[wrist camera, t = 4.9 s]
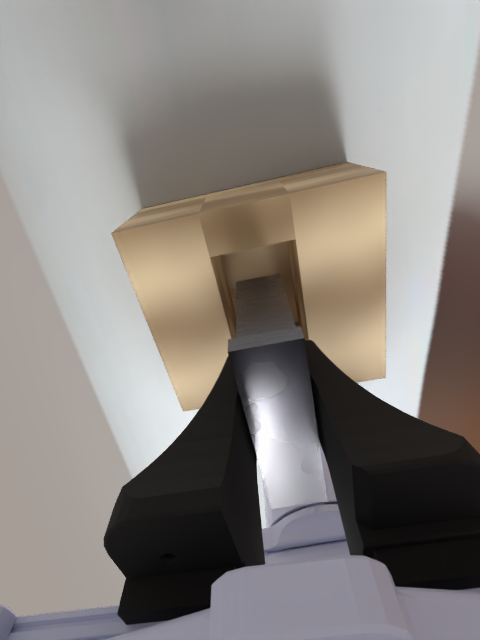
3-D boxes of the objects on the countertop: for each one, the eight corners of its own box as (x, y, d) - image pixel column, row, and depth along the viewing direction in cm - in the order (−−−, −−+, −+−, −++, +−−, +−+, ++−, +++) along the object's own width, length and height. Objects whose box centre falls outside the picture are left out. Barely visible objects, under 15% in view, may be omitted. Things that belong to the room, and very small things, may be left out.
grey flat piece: (296, 375, 18) (327, 501, 12) (259, 381, 18) (271, 508, 12) (275, 252, 15) (304, 337, 8) (231, 261, 15) (227, 352, 9)
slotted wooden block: (355, 328, 24) (385, 377, 19) (193, 357, 25) (183, 411, 20) (347, 161, 18) (386, 171, 14) (142, 209, 20) (111, 233, 15)
